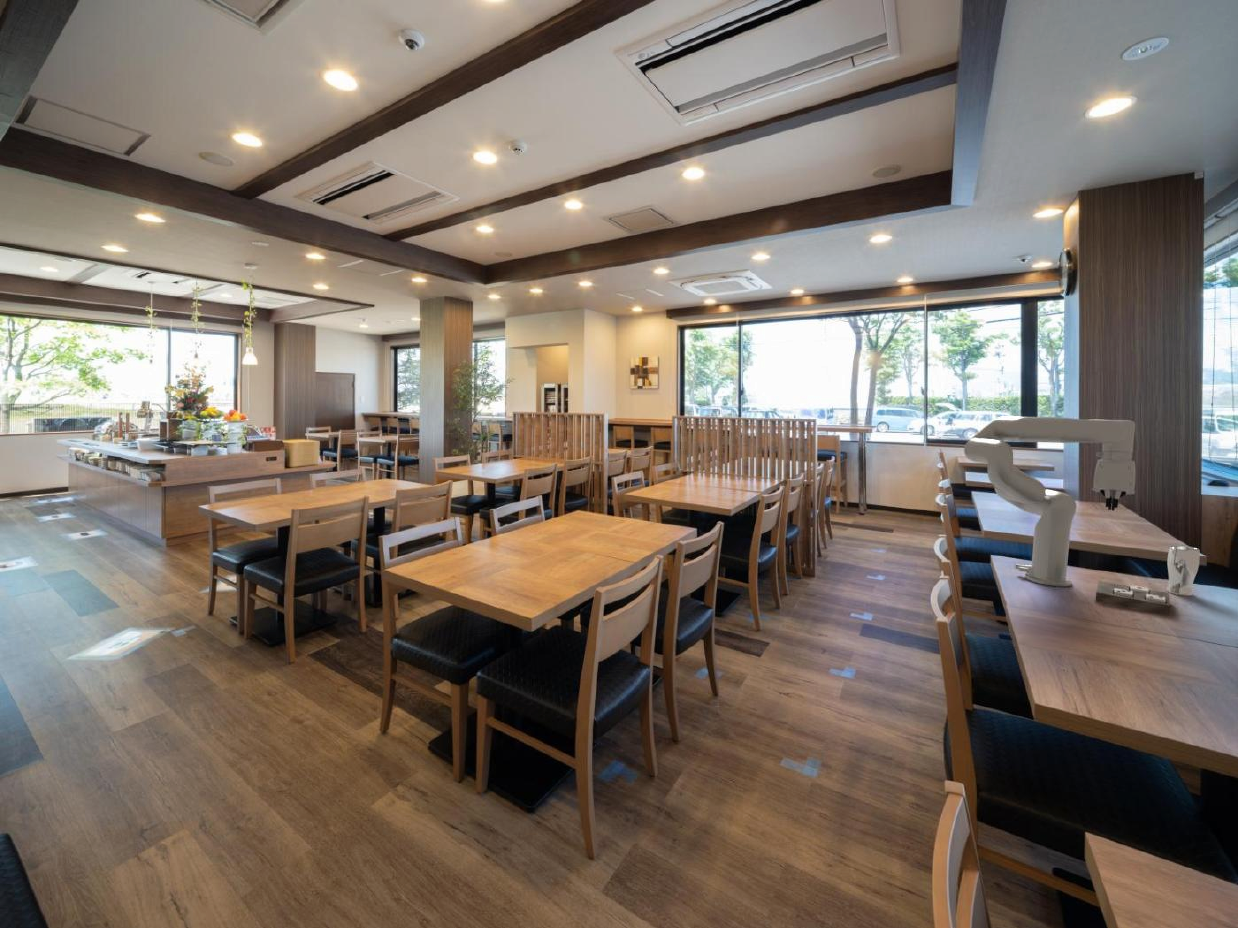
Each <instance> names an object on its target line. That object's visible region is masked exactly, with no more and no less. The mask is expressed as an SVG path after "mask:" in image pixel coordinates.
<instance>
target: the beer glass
mask: <svg viewBox="0 0 1238 928" xmlns="http://www.w3.org/2000/svg"><path fill="white" fill-rule="evenodd" d="M1200 559H1201V558H1200V549H1199V548H1196V547H1193V546H1186V545H1178V544H1177V545H1176V544H1175V545H1174V544H1173V545H1170V546H1169V550H1168V554H1167V571H1168V583H1167V586H1166V588H1165V592H1166V593H1169V594H1172V595H1177V596H1181V597H1193V596H1194V590H1193V588H1194V587H1193V585H1194V584H1193V583H1194V580H1195V577H1196V575H1197V573H1198V571H1199V567H1200Z"/></svg>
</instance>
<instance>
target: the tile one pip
mask: <svg viewBox="0 0 1238 928" xmlns="http://www.w3.org/2000/svg"><path fill="white" fill-rule="evenodd" d="M1148 590H1149V587H1144V586H1139V585H1130V591H1134V592H1140V593H1146V594H1148V592H1149V591H1148Z"/></svg>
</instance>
